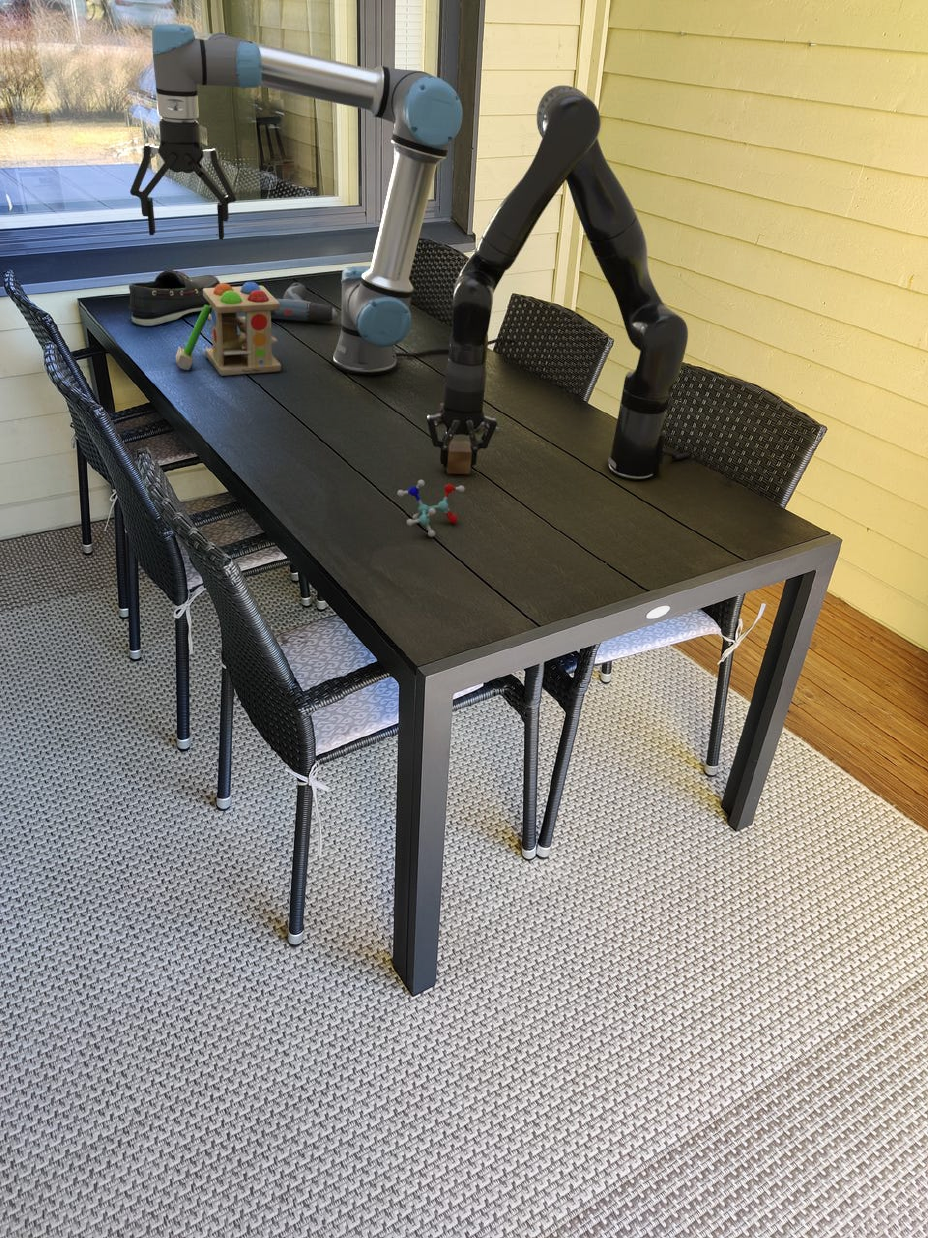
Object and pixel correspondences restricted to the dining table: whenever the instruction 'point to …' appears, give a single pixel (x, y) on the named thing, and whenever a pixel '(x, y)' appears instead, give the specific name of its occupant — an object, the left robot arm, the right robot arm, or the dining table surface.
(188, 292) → the boat shoe
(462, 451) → the block
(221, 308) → the pounding bench toy
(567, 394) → the dining table surface
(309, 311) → the power drill
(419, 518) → the molecular model
